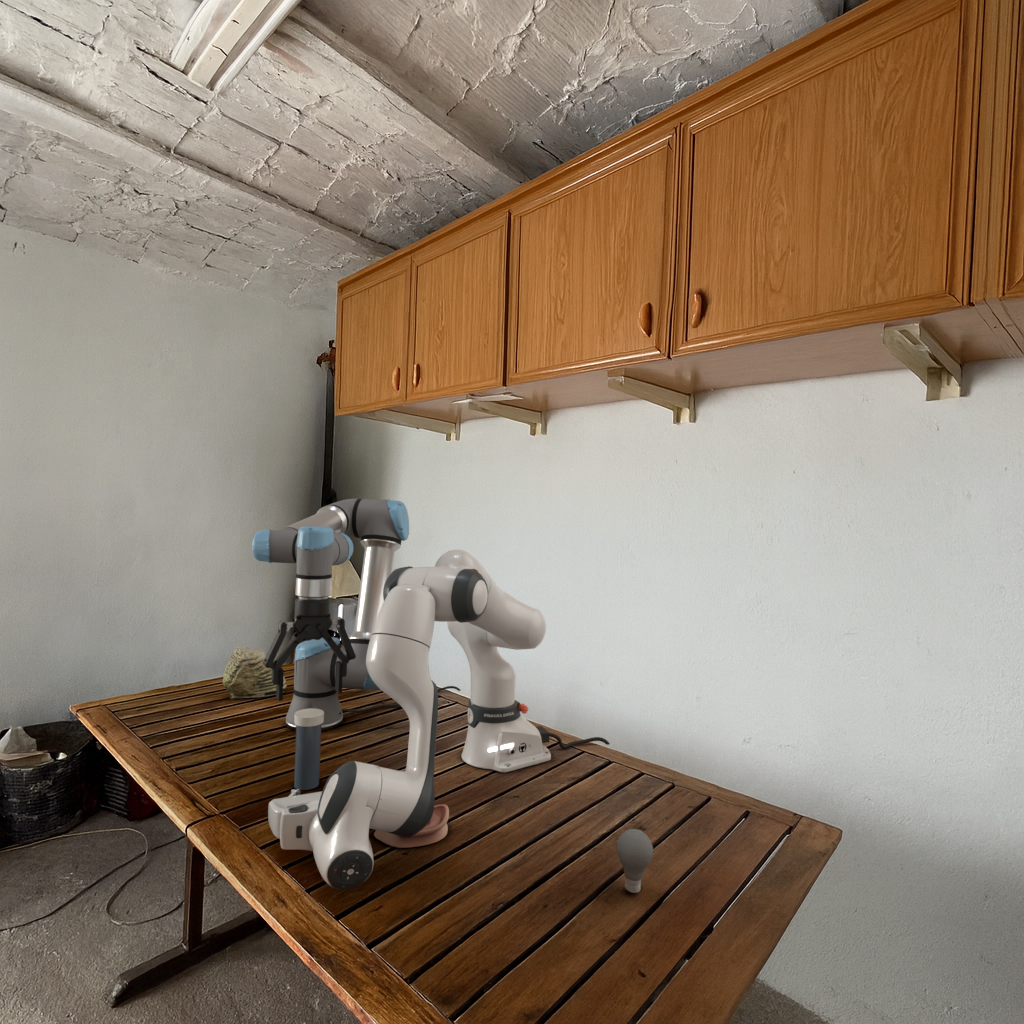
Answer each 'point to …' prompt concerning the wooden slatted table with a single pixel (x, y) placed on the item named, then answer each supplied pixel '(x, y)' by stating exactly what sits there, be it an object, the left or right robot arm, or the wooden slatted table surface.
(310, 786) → the jar
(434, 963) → the wooden slatted table surface
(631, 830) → the light bulb
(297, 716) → the lid
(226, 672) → the fossil
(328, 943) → the wooden slatted table surface
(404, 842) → the anatomical model
